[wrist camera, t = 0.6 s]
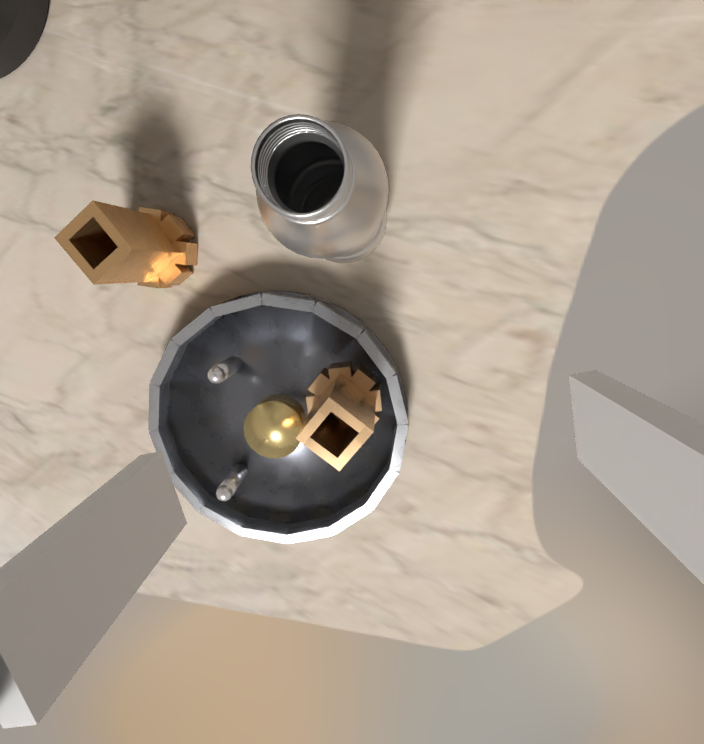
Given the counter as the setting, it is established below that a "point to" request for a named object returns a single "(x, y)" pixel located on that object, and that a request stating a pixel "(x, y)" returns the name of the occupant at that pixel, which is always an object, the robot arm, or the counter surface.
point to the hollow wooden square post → (130, 245)
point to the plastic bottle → (320, 188)
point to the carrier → (270, 417)
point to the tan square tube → (340, 412)
